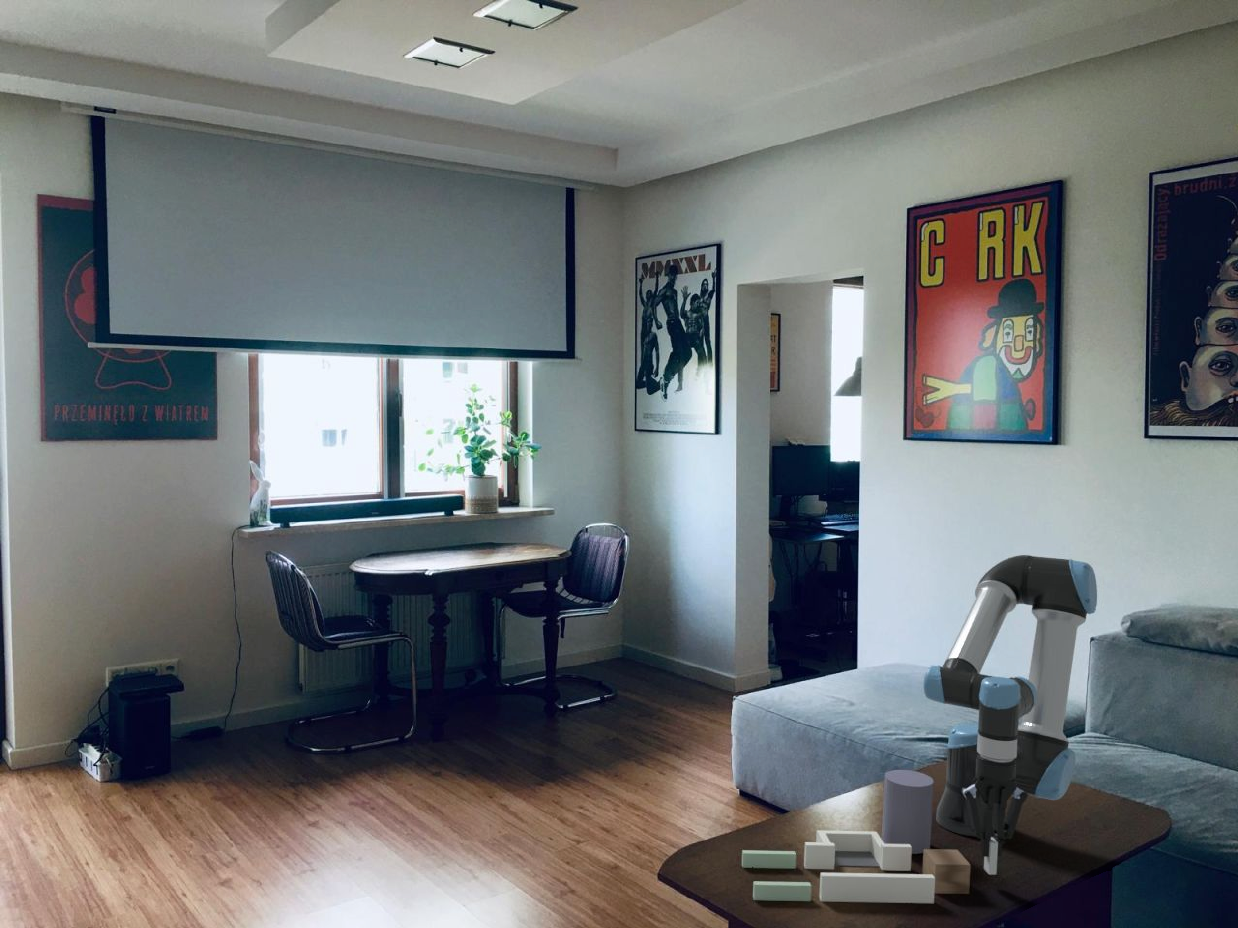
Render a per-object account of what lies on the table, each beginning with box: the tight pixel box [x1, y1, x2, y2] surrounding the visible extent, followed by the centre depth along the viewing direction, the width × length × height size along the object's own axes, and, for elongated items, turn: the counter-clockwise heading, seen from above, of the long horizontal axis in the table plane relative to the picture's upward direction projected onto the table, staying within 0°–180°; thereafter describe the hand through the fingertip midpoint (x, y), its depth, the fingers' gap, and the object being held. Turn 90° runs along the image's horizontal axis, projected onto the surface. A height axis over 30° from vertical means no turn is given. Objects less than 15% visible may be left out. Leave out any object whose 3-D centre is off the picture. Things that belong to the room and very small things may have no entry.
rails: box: [741, 849, 813, 902], centre depth 204 cm, size 11×16×3 cm
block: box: [921, 848, 971, 895], centre depth 205 cm, size 7×7×6 cm
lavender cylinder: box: [881, 769, 934, 855], centre depth 224 cm, size 10×10×15 cm
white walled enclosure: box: [803, 829, 935, 904], centre depth 209 cm, size 22×24×5 cm
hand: (989, 871), depth 206 cm, fingers closed
